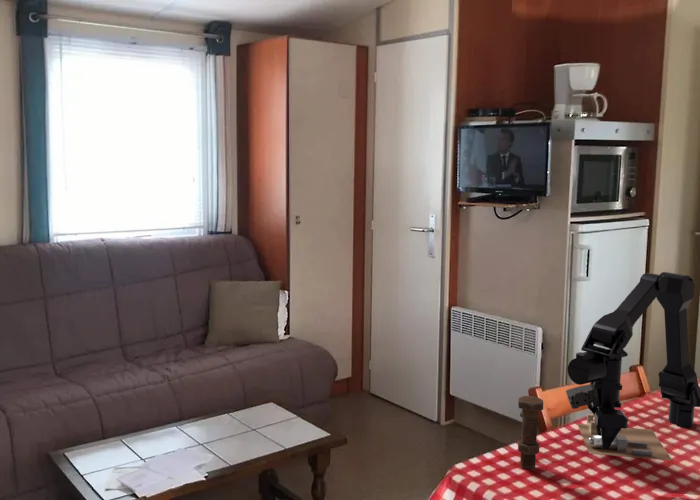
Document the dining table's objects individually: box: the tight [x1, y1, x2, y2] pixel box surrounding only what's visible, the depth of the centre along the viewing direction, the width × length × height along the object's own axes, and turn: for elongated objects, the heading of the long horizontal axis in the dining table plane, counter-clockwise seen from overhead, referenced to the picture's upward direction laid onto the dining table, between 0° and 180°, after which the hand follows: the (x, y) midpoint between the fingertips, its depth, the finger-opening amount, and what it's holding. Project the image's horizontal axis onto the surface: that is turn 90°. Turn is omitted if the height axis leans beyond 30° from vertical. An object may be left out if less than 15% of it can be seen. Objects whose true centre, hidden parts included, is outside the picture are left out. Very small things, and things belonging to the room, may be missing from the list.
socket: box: [627, 441, 652, 456], centre depth 159 cm, size 6×4×1 cm
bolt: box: [517, 395, 544, 470], centre depth 150 cm, size 6×5×15 cm
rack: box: [586, 413, 596, 434], centre depth 170 cm, size 6×6×3 cm
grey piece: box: [588, 435, 627, 452], centre depth 160 cm, size 8×3×3 cm, turn 81°
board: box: [577, 423, 673, 461], centre depth 164 cm, size 18×18×1 cm
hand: (602, 443), depth 160 cm, fingers open, 6 cm apart
